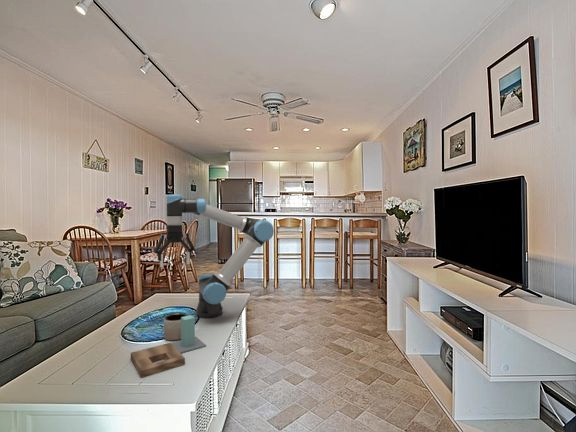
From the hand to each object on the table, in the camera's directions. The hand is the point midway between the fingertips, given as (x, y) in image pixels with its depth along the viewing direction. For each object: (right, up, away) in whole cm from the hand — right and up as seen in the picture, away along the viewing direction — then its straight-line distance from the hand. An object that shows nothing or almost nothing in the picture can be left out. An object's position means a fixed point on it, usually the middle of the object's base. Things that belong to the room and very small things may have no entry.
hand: (175, 265), depth 163 cm
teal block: (+13, -32, -21) cm, 41 cm away
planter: (+5, -32, -12) cm, 35 cm away
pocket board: (+6, -33, -36) cm, 49 cm away
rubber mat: (+13, -32, -22) cm, 41 cm away
